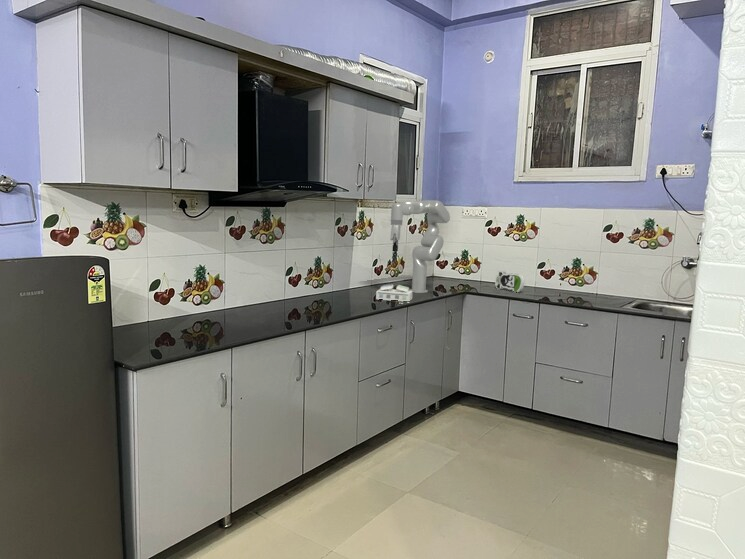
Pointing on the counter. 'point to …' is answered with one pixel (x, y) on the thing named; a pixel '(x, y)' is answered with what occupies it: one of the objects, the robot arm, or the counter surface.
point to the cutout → (509, 281)
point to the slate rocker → (386, 287)
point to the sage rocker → (402, 288)
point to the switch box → (394, 295)
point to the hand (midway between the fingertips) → (395, 251)
